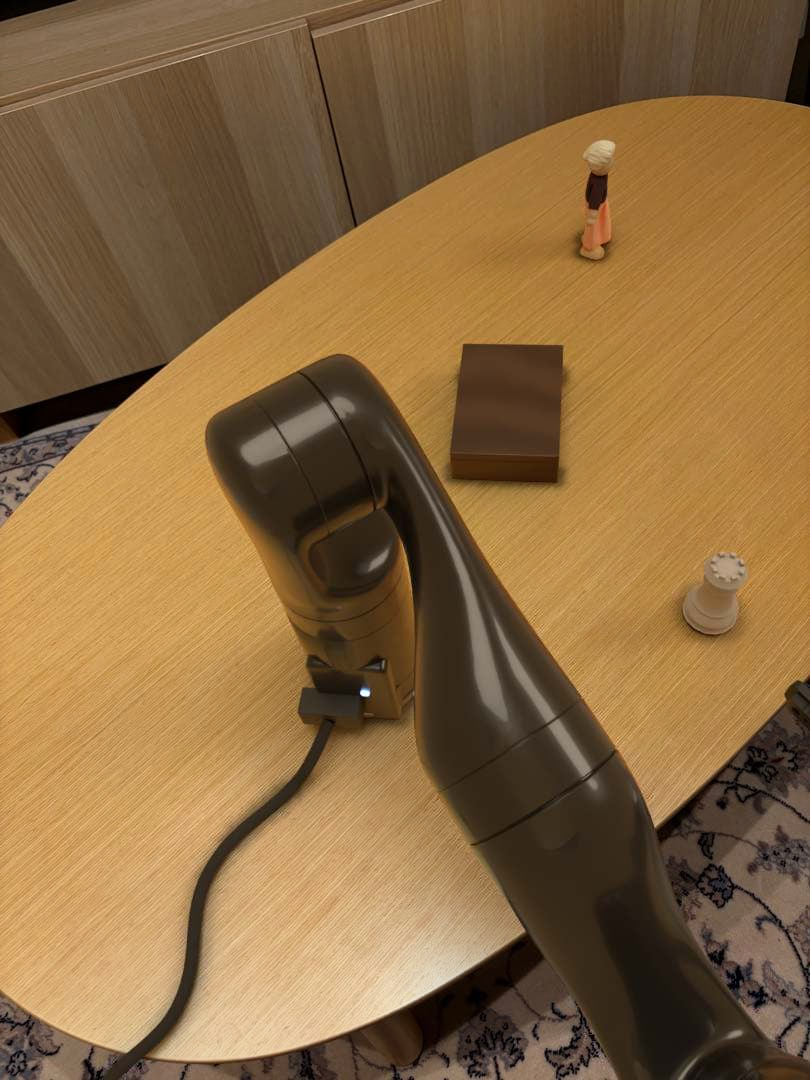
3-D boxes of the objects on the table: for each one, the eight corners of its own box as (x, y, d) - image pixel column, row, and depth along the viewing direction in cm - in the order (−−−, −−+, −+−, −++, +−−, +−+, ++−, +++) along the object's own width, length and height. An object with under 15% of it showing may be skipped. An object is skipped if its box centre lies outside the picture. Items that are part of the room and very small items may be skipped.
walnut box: (557, 482, 82) (559, 456, 78) (452, 478, 83) (449, 453, 80) (561, 372, 89) (563, 344, 86) (464, 370, 91) (463, 343, 87)
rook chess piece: (747, 610, 73) (770, 561, 66) (717, 647, 71) (738, 601, 65) (700, 580, 75) (718, 530, 68) (670, 616, 73) (686, 568, 66)
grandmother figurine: (614, 264, 97) (626, 162, 86) (579, 267, 97) (587, 166, 87) (606, 220, 101) (617, 117, 90) (573, 223, 101) (580, 121, 91)
